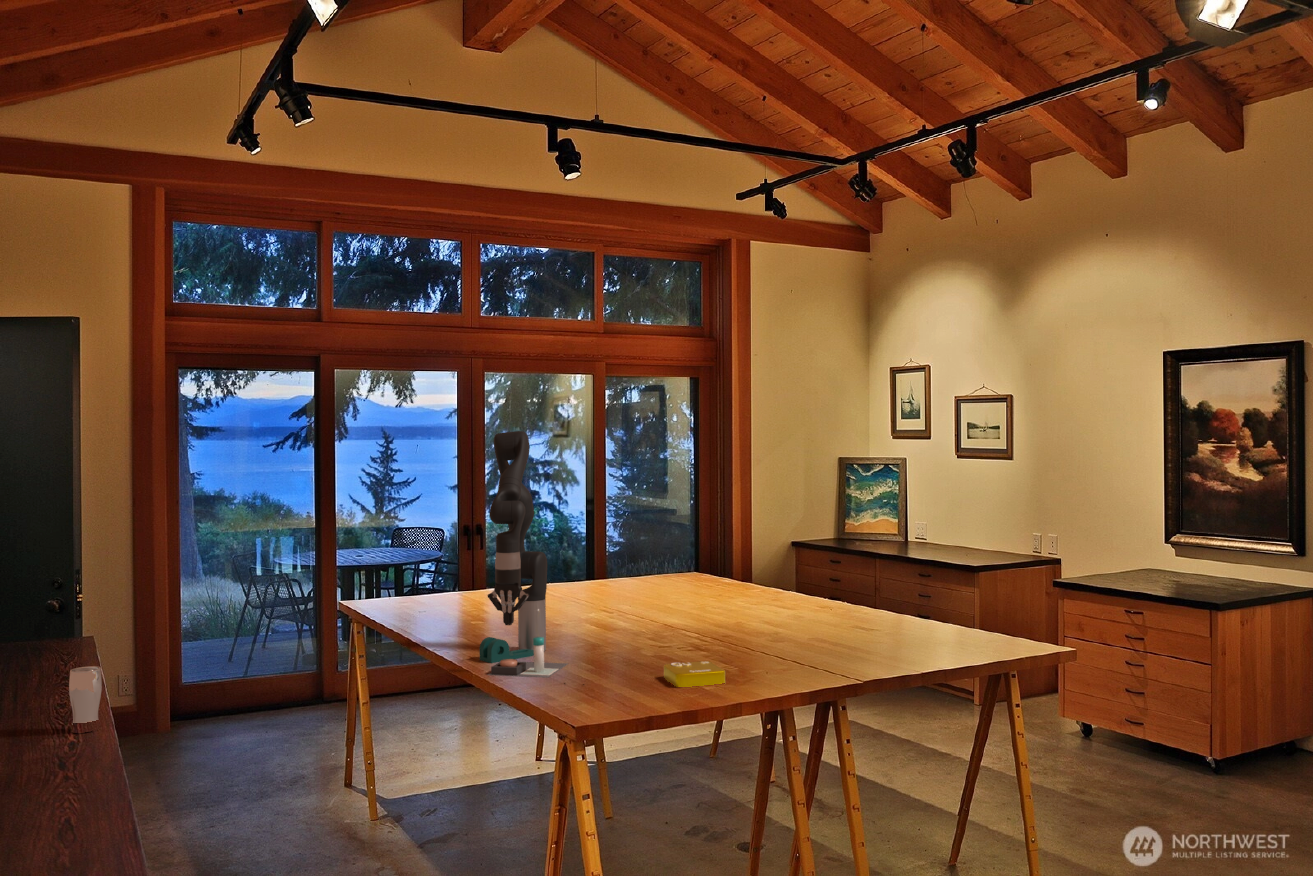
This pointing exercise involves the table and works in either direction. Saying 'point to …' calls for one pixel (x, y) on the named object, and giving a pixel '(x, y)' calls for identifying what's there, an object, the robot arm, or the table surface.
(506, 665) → the button
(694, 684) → the element tile
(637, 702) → the table surface
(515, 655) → the bracket
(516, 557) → the robot arm
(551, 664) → the drawing board
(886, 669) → the table surface
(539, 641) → the marker
